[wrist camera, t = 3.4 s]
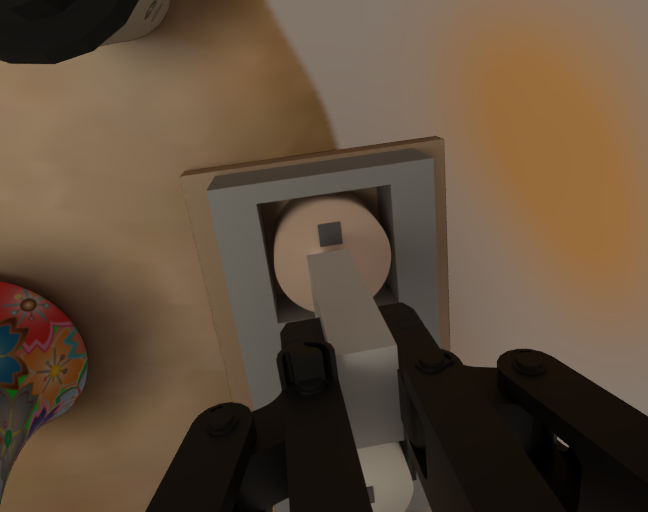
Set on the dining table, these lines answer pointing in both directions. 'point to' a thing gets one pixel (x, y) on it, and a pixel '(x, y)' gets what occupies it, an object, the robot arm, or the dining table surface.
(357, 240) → the button
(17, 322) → the mug
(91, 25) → the coffee cup
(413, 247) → the console
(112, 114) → the dining table surface
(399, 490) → the button
